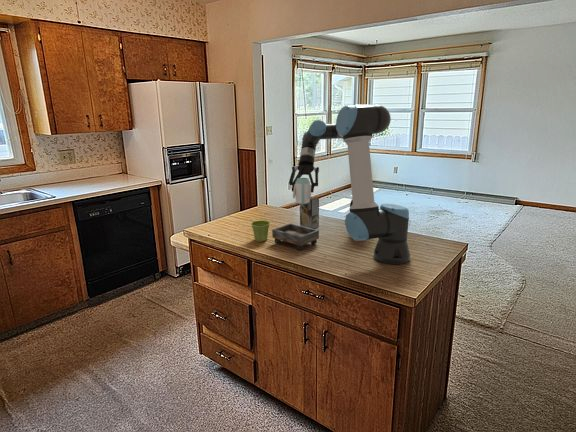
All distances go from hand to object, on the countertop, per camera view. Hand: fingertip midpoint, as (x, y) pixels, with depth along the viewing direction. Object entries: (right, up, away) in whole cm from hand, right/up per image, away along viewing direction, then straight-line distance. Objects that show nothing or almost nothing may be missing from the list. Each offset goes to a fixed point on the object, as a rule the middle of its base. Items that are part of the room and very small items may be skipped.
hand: (301, 197), depth 181 cm
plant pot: (-20, -21, +6) cm, 30 cm away
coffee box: (+5, -15, +25) cm, 30 cm away
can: (+1, -3, +4) cm, 5 cm away
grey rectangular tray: (-3, -22, -1) cm, 23 cm away
